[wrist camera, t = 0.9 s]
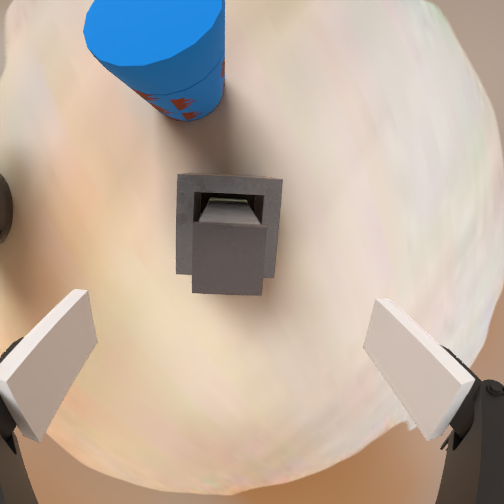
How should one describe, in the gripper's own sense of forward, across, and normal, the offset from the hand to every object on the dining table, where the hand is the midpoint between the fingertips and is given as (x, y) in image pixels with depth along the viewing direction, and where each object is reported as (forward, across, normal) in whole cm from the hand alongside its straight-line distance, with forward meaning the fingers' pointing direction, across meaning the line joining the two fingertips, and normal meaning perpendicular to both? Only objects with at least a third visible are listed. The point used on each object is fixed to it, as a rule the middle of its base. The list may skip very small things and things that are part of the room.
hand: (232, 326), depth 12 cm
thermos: (+33, -7, +19) cm, 38 cm away
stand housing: (+32, 0, 0) cm, 33 cm away
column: (+32, 0, 0) cm, 33 cm away
